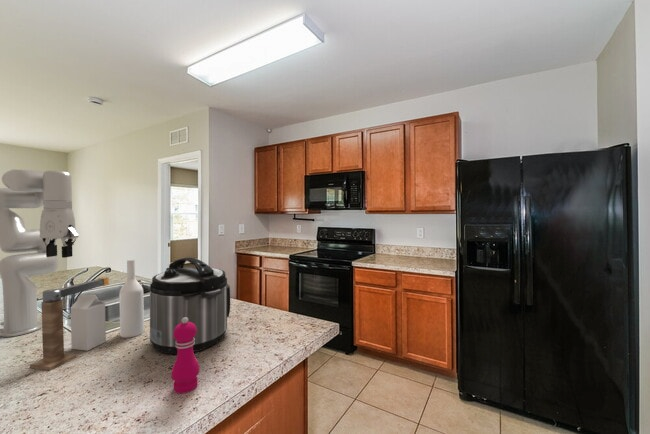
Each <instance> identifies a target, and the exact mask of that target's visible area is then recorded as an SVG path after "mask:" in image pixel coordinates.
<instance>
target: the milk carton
mask: <svg viewBox="0 0 650 434" xmlns="http://www.w3.org/2000/svg"><path fill="white" fill-rule="evenodd" d="M106 331H107V330H106V303H105V302H104V301H102V300H101V299H99V298H98V297H97V295H96V294H85V293H80V294H79V298H78V299H76V301H75V302H74V303H73V304H72V306H70V336H71V337H70V340H71V349H72V350H77V351H78V350H79V351H86V352H87V351H89V350H92V349H93V348H96V347H98V346H100V345H102V344H104V343H106V342H107V334H106Z"/></svg>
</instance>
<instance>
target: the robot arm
mask: <svg viewBox="0 0 650 434" xmlns="http://www.w3.org/2000/svg"><path fill="white" fill-rule="evenodd" d="M1 183H2V184H3V185H4V187H0V250H1V251H2V252H3V253H7V254H11V255H7V256H5V257H3V258H2V259H1V260H0V279H1V282H2V295H3V296H2V297H3V299H2V300H3V321H1V322H0V326H3V329H1V330H0V337H2V338H9V337H17V336H21V335H27V334H30V333H33V332H36V331H38V330H40V329H42V321H38V300H37V299H38V297H37V296H38V295H37V286H36V284H35V283H34V282H33V281H32V280H31V279H29V277H33V276H41V275H47V274H51V273H54V272H55V271H56V270H57V269H58V266H59V261H58V244H56V243H57V240H59V239H61V244H62V246H61V257H62V258H65V259H66V258H70V257H71V258H72V257H73V246H74V245H75V242H76V240H77V239H78V238H79V234H78V233H77V232H76V220H75V216H74V215H75V214H74V210H73V201H72V200H73V194H72V193H73V192H72V191H73V190H72V175H71V173H70V172H67V171H62V170H45V171H42V170H33V169H11V170H8V171H5V172H4V173H3V174H2V176H1ZM42 207H43V209H42V210H41V215H40V223H39V228H38V229H37V228H36V229H35V228H32V229H28V228H26V225H25V221H24V218H22V217H21V216H20V215H19V214H18V213H16V212H15V211H13V210H11V209H38V208H42ZM15 253H19V254H15Z"/></svg>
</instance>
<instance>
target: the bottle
mask: <svg viewBox="0 0 650 434" xmlns="http://www.w3.org/2000/svg"><path fill="white" fill-rule="evenodd" d="M135 261H136V260H135V259H132V258H130V259H127V260H126V273H127V274H126V276H127V277H126V281H124V284H123V286H122V287H121V288H120V290H119V296H118V297H119V334H120V335H119V336H120V337H121V338H132V337H137V336H140V335H141V334H143V333H144V332H145V311H144V309H145V307H144V304H145V303H144V287H143V286H142V285H141V283H139V282H138V281H139V280H137V279H136V262H135Z"/></svg>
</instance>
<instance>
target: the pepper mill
mask: <svg viewBox="0 0 650 434" xmlns="http://www.w3.org/2000/svg"><path fill="white" fill-rule="evenodd" d="M196 332H197V329H196V326H195V324H194V323H192V322H188V318H187V317H184V318H183V319H182V323H180V324H178V325H177V326H176V327H175V329H174V332H173V336H174V338H175V339H176V342H175V343H176V345H175V346H176V348H177V351H178V352H177V354H176V359H175V362H174V364H173V366H172V369H171V375H170V376H171V379H172V380H173V391H174V393H175V394H176V393H177V394H186V393H189V392H191V391H194V390H195V389H196V388H197V387H198V382H199V381H198V379H199V377H198V375H199V373H200V364H199V361H198V360H197V358H196V355H195V353H194V352H195V351H194V352H193V345H194V344H195V338H194V336H195V335H196Z"/></svg>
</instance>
